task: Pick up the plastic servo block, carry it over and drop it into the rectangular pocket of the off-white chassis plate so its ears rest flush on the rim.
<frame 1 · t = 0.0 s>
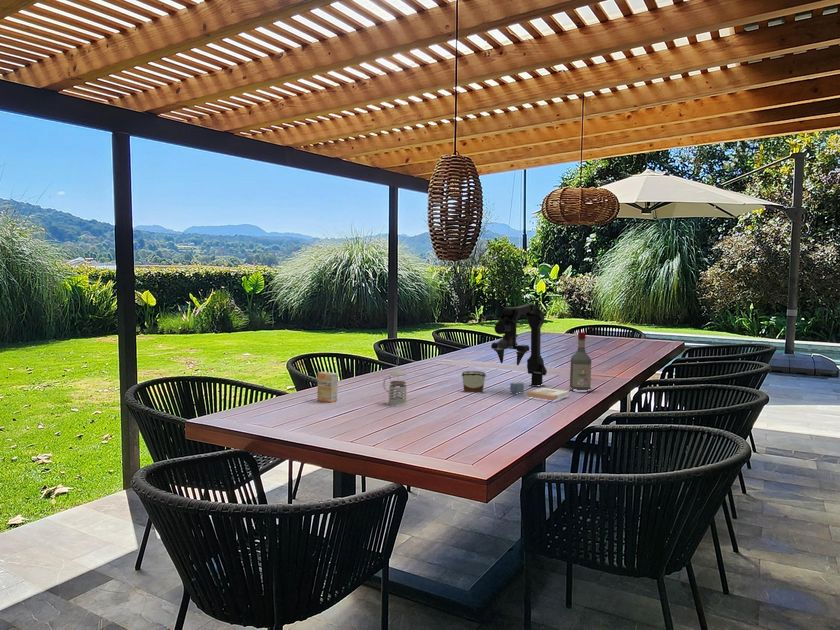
hand: (509, 364, 291), 15 cm above the table, tool pointing down, fingers open, 9 cm apart
servo block: (516, 393, 294), on the table
french press: (395, 403, 267), on the table
liquor: (579, 391, 301), on the table
food container: (473, 391, 296), on the table
supplement box: (327, 401, 270), on the table
chassis plate: (547, 397, 283), on the table
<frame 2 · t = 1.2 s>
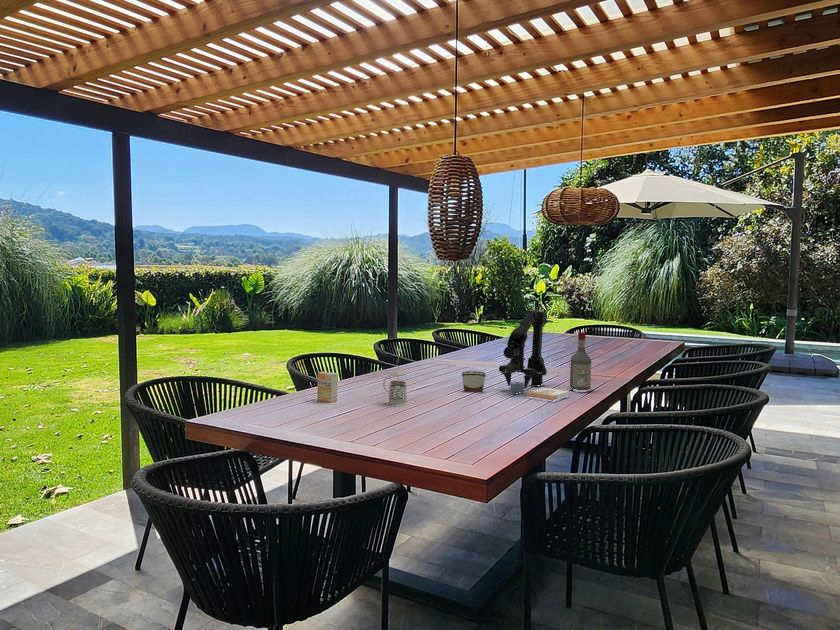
hand: (517, 387, 294), 3 cm above the table, tool pointing down, fingers open, 9 cm apart
nothing on the table moved.
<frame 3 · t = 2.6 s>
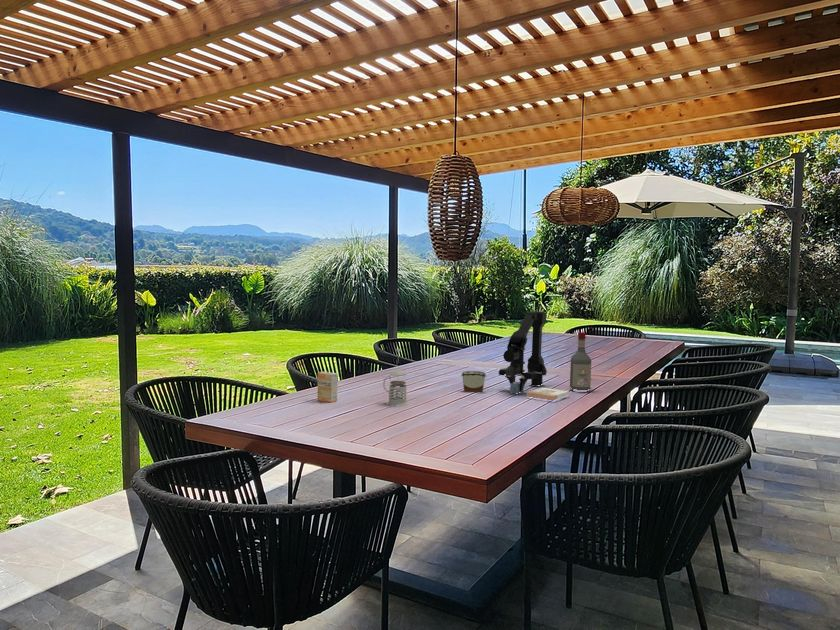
hand: (516, 390, 294), 1 cm above the table, tool pointing down, fingers closed on servo block, 4 cm apart
servo block: (516, 392, 294), on the table, touching gripper
everything else where it was.
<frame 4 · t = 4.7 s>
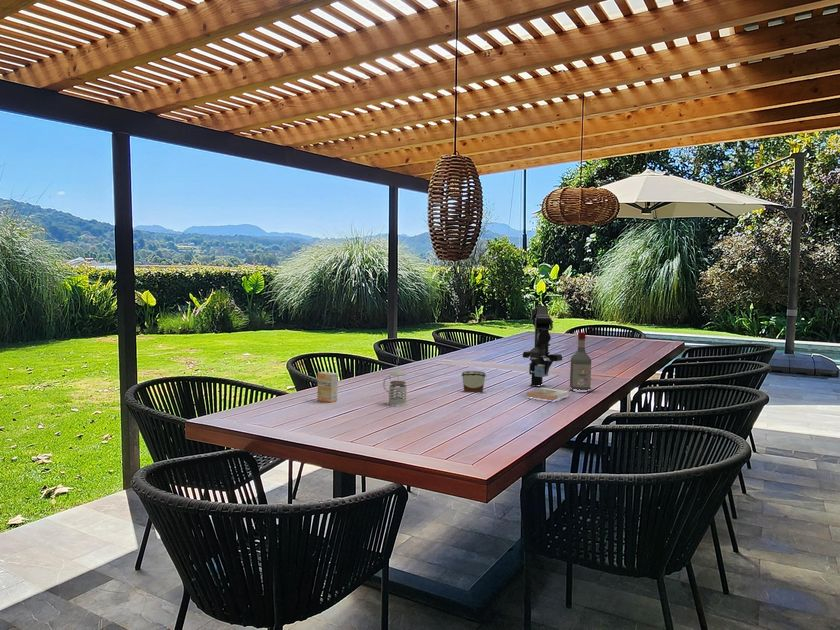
hand: (541, 373, 284), 11 cm above the table, tool pointing down, fingers closed on servo block, 4 cm apart
servo block: (541, 375, 284), point 10 cm above the table, touching gripper
everything else where it was.
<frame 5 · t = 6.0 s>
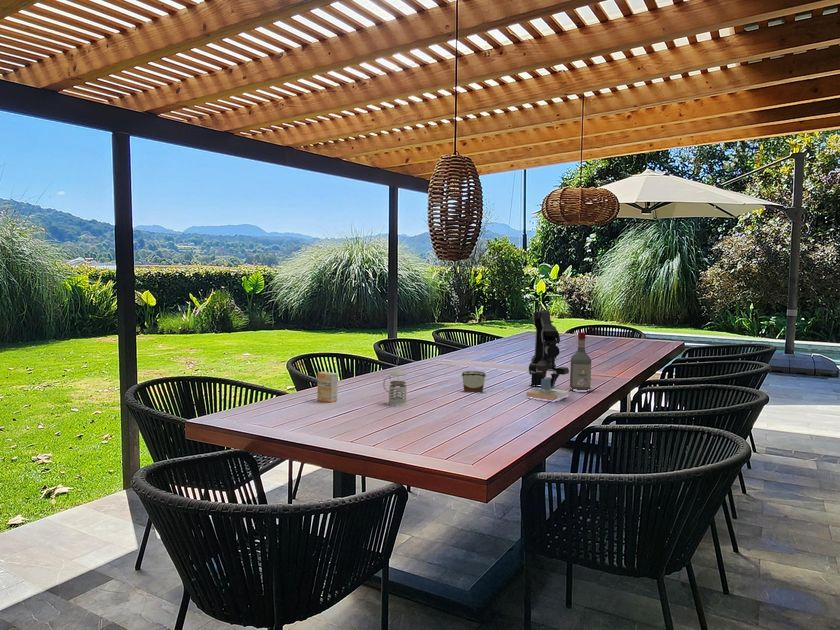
hand: (547, 386, 283), 5 cm above the table, tool pointing down, fingers closed on servo block, 4 cm apart
servo block: (547, 388, 283), point 4 cm above the table, touching gripper
everything else where it was.
when the fingers open (4 cm above the table, at t = 7.0 s): servo block drops 2 cm, resting on chassis plate.
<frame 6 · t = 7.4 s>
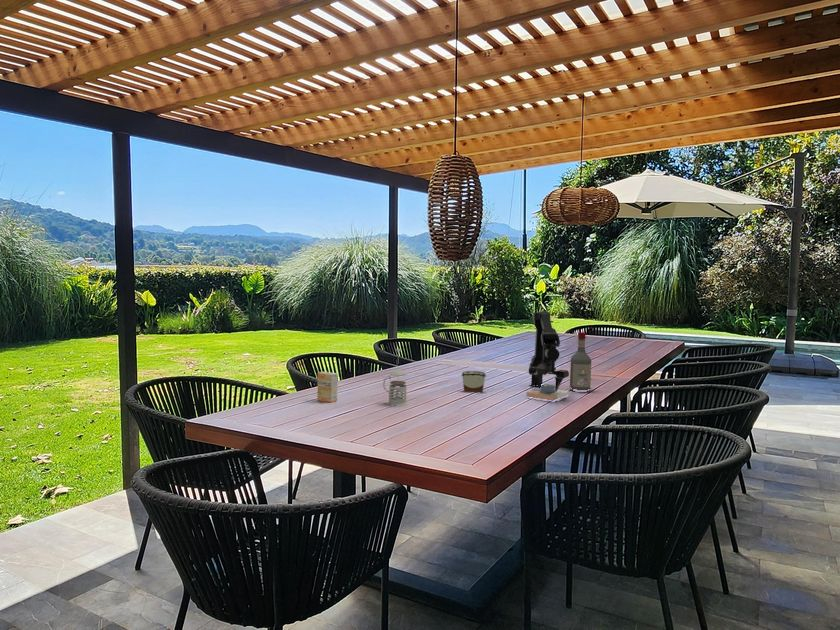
hand: (547, 389, 283), 4 cm above the table, tool pointing down, fingers open, 8 cm apart
servo block: (547, 395, 283), point 1 cm above the table, touching chassis plate
everything else where it was.
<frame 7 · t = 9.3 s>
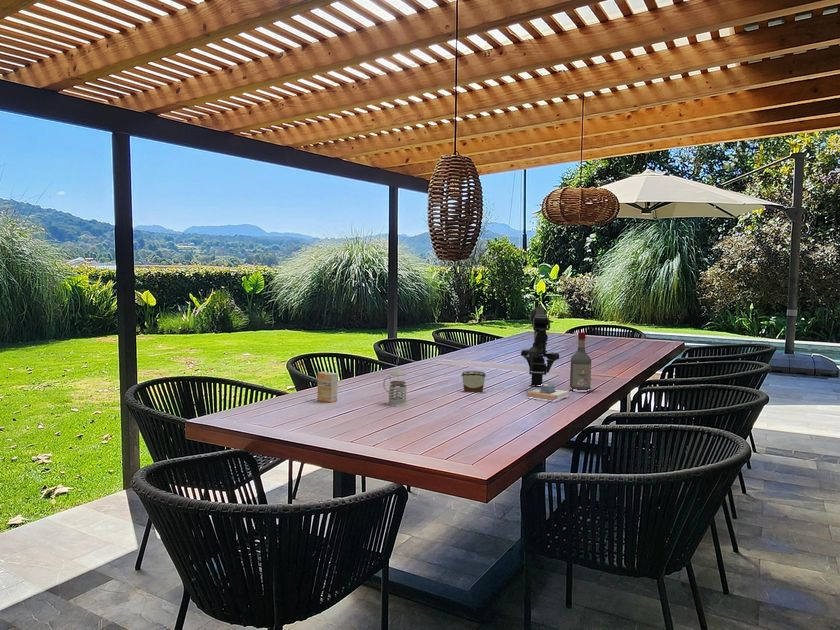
hand: (539, 371, 296), 11 cm above the table, tool pointing down, fingers open, 9 cm apart
nothing on the table moved.
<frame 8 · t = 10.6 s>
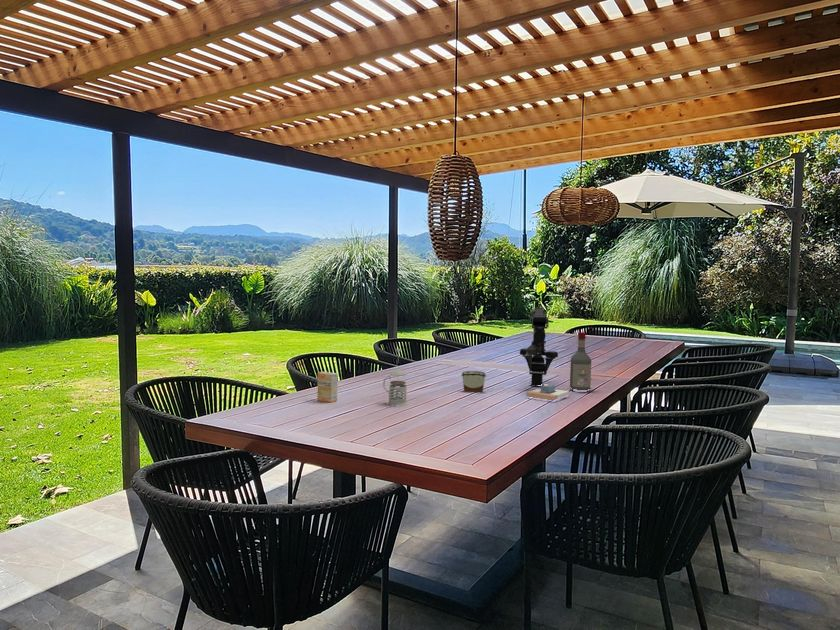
hand: (538, 370, 297), 11 cm above the table, tool pointing down, fingers open, 9 cm apart
nothing on the table moved.
at the end: servo block 0.1 cm off-centre on the chassis plate, point 1.0 cm above the chassis plate's base; servo block tilted 0°; the gripper is holding nothing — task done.
